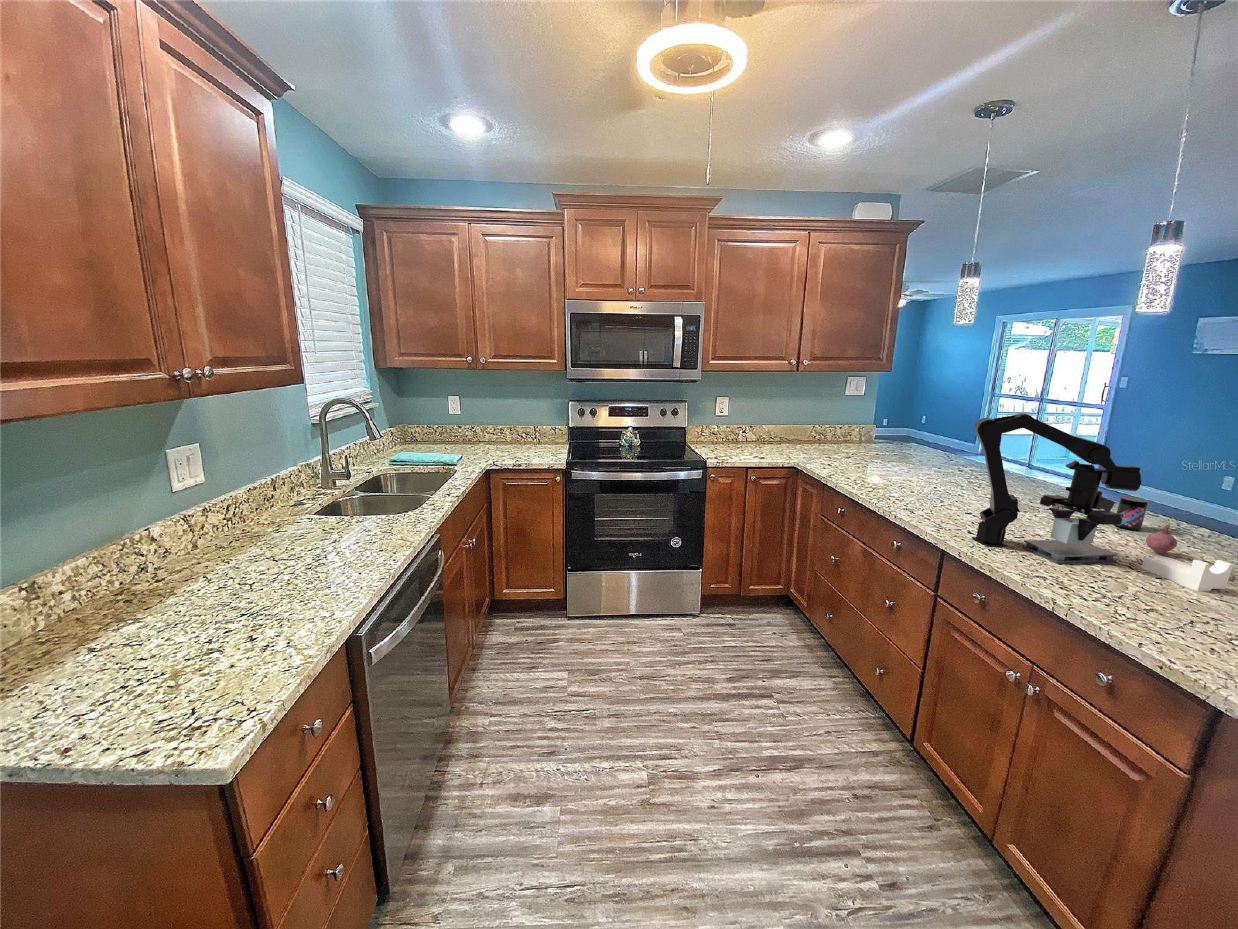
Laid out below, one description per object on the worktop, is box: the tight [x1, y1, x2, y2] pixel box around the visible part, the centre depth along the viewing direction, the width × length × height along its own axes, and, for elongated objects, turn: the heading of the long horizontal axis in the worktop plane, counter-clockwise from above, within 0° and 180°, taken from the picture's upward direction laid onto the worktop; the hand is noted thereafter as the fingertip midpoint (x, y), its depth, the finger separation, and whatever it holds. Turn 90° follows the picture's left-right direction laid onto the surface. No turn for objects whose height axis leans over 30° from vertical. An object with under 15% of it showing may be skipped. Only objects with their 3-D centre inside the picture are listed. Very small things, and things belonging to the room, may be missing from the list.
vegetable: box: [1145, 522, 1178, 554], centre depth 142 cm, size 6×6×10 cm
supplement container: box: [1113, 495, 1150, 532], centre depth 163 cm, size 7×7×10 cm
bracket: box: [1141, 556, 1234, 592], centre depth 126 cm, size 13×7×8 cm, turn 1°
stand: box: [1021, 539, 1119, 565], centre depth 141 cm, size 18×11×2 cm, turn 94°
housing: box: [1049, 517, 1098, 544], centre depth 139 cm, size 5×8×6 cm, turn 94°
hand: (1071, 537), depth 140 cm, fingers closed on housing, 5 cm apart
